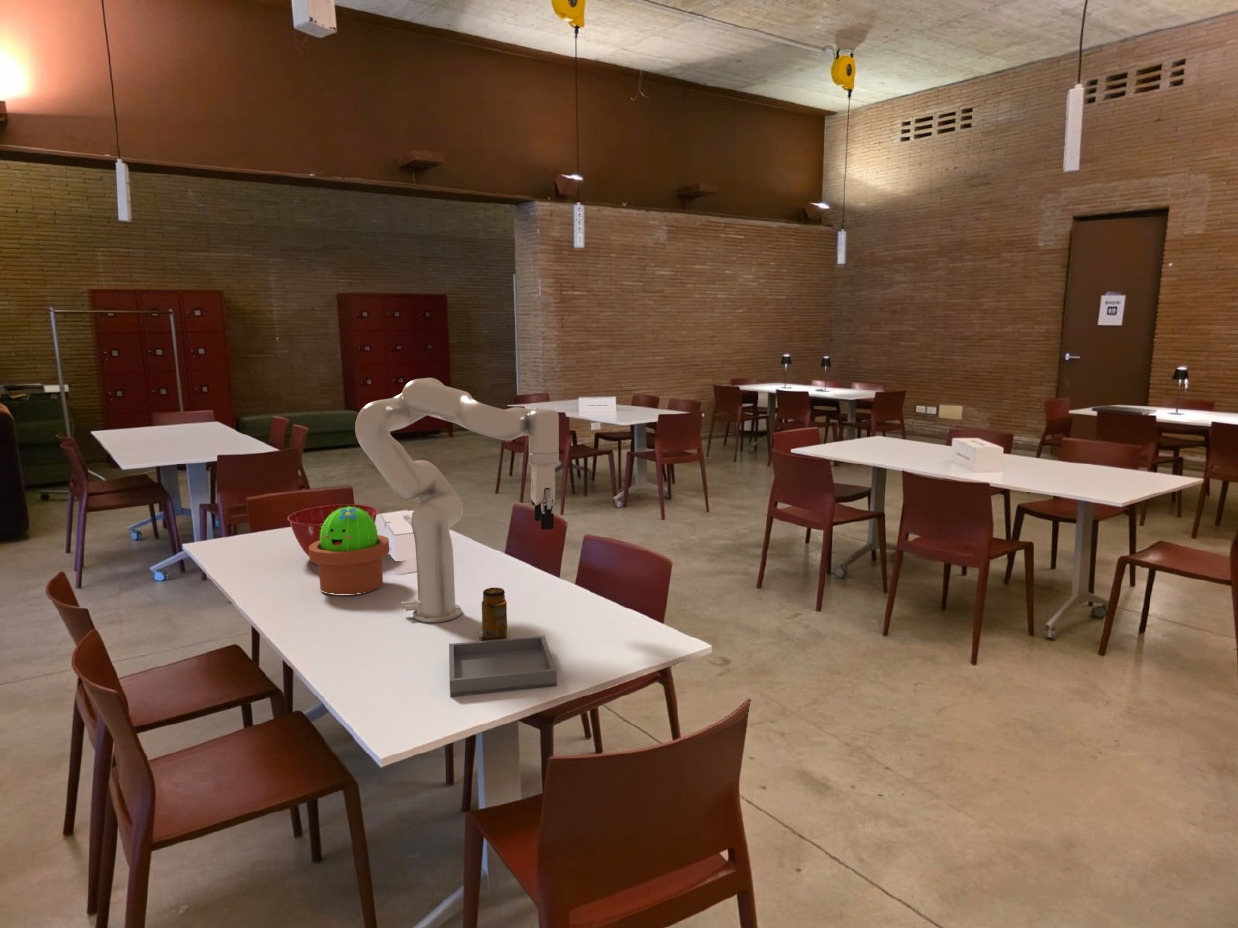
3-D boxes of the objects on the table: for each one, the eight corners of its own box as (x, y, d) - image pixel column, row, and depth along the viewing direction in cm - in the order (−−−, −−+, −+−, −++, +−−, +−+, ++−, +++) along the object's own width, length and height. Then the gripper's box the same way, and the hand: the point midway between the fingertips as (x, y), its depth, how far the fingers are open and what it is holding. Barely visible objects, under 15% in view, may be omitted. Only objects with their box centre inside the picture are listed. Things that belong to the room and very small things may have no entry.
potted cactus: (334, 575, 240) (329, 497, 237) (401, 577, 238) (397, 498, 234) (298, 598, 219) (291, 512, 215) (372, 600, 217) (367, 514, 213)
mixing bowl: (363, 569, 246) (361, 522, 244) (275, 569, 247) (271, 522, 244) (390, 546, 274) (388, 504, 272) (311, 546, 275) (308, 504, 272)
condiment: (506, 630, 194) (504, 584, 192) (513, 642, 186) (512, 594, 184) (477, 634, 192) (475, 587, 190) (483, 646, 184) (481, 598, 182)
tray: (450, 696, 158) (449, 680, 157) (449, 658, 177) (449, 643, 176) (556, 685, 162) (556, 670, 162) (544, 649, 182) (544, 635, 181)
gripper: (524, 453, 201) (524, 517, 204) (534, 464, 184) (534, 533, 187) (552, 453, 203) (552, 516, 206) (565, 463, 186) (564, 532, 189)
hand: (543, 524), depth 196 cm, fingers open, 9 cm apart
